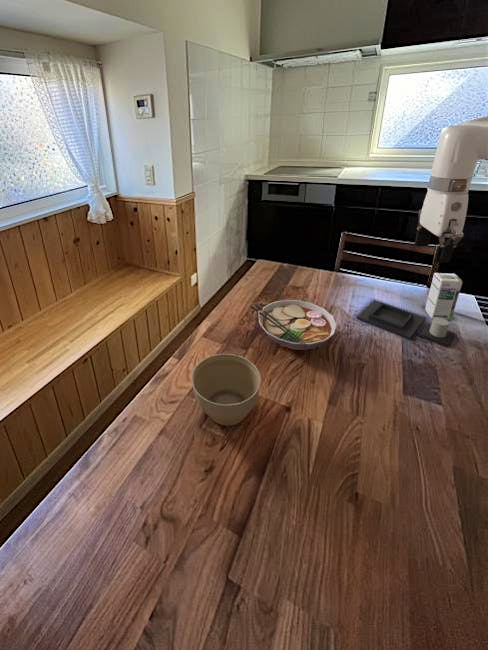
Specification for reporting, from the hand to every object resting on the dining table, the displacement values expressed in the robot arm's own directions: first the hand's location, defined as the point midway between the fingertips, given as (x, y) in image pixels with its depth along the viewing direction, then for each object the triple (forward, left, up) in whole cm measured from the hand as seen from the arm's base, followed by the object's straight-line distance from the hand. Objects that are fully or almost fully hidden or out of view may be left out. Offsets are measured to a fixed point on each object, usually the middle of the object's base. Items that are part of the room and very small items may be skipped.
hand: (430, 253), depth 83 cm
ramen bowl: (+26, +15, -33) cm, 44 cm away
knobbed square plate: (-4, -15, -32) cm, 36 cm away
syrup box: (-1, -28, -33) cm, 43 cm away
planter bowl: (+23, +50, -33) cm, 64 cm away
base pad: (+9, -15, -32) cm, 37 cm away
